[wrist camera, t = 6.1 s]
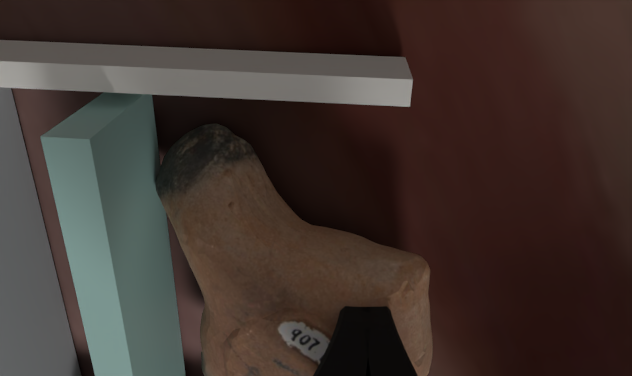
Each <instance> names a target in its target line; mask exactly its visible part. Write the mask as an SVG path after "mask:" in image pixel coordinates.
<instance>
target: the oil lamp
mask: <svg viewBox="0 0 632 376" xmlns="http://www.w3.org/2000/svg"><path fill="white" fill-rule="evenodd" d="M155 185H156V192H157V194H158V196H159V198H160V200H161V202H162V205H163V207H164V209H165V211H166V213H167V215H168V217H169V219H170V221H171V223H172V226H173V228H174V230H175V233H176V235H177V238H178V240H179V243H180V245H181V247H182V250H183V252H184V254H185V256H186V258H187V260H188V262H189V265H190V267H191V269H192V271H193V273H194V276H195V278H196V280H197V282H198V284H199V286H200V289H201V291H202V294H203V297H204V302H205V308H204V311H203V313H202V319H201V326H200V339H201V345H202V352H201V358H202V371H203V374H204V376H313V375H314V373H315V371H316V369H317V368H318V366H319V364H320V362H321V360H322V358H323V355H324V353H325V351H326V349H327V347H328V345H329V342H330V340H331V338H332V335H333V332H334V330H335V327H336V324H337V321H338V317H339V313H340V310H341V309H342V308H344V307H345V306H351V307H383V306H387V307H388V308H389V309H390V310H391V313H392V317H393V320H394V323H395V326H396V328H397V331H398V334H399V336H400V338H401V341H402V343H403V346H404V348H405V350H406V352H407V354H408V357H409V359H410V361H411V363H412V365H413V367H414V369H415V371H416V373H417V375H418V376H427V375H428V373H429V370H430V365H431V361H432V354H433V342H432V331H431V323H430V303H429V297H428V290H429V279H430V268H429V265H428V263H427V262H426V261H425V260H424V259H423V258H422V257H421V256H420V255H418V254H415V253H411V252H406V251H402V250H399V249H396V248H392V247H389V246H384V245H380V244H377V243H375V242H373V241H370V240H368V239H366V238H364V237H362V236H359V235H356V234H353V233H350V232H346V231H341V230H337V229H332V228H328V227H322V226H315V225H311V224H309V223H307V222H305V221H303V220H301V219H300V218H299V217H298V216H297V215H296V214H295V213H294V212H293V211H292V209H291V208H290V207H289V206H288V205H287V204H286V202H285V201H284V200H283V199H282V198H281V196H280V195H279V194H278V193H277V191H276V190H275V188H274V186H273V185H272V183H271V181H270V180H269V178H268V176H267V174H266V172H265V170H264V168H263V166H262V164H261V162H260V160H259V158H258V156H257V154H256V153H255V151H254V149H253V147H252V146H251V144H250V143H247V142H246V141H245V140H244V139H242V138H240V137H238V136H235V135H234V134H233V133H232V132H231V131H230V130H229V129H228V128H227V127H225V126H222V125H219V124H216V123H214V124H207V125H202V126H200V127H198V128H196V129H194V130H192V131H190V132H188V133H186V134H185V135H184V136H183V137H181V138H180V139H179V140H178V141H177V142H176V143H175V144H174V145H172V146H171V147H170V149H169V151H168V152H167V154H166V155H165V156H164V159H163V162H162V165H161V168H160V171H159V173H158V177H157V180H156V184H155Z"/></svg>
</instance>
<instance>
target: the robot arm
mask: <svg viewBox="0 0 632 376" xmlns="http://www.w3.org/2000/svg"><path fill="white" fill-rule="evenodd" d="M313 376H418V375H417V373H416V371H415V369H414V367H413V365H412V363H411V361H410V359H409V357H408V354H407V352H406V350H405V348H404V346H403V343H402V341H401V338H400V336H399V334H398V331H397V328H396V326H395V323H394V320H393V317H392V313H391V310H390V309H389V308H388V307H387V306H383V307H351V306H345V307H344V308H342V309H341V310H340V313H339V317H338V321H337V324H336V327H335V330H334V332H333V335H332V338H331V340H330V342H329V345H328V347H327V349H326V351H325V353H324V355H323V358H322V360H321V362H320V364H319V366H318V368H317V369H316V371H315V373H314V375H313Z"/></svg>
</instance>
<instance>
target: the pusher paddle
mask: <svg viewBox="0 0 632 376" xmlns="http://www.w3.org/2000/svg"><path fill="white" fill-rule="evenodd" d="M41 142H42V146H43V150H44V155H45V159H46V164H47V168H48V172H49V177H50V181H51V185H52V190H53V194H54V199H55V203H56V207H57V212H58V216H59V221H60V225H61V229H62V234H63V238H64V242H65V247H66V251H67V256H68V260H69V264H70V269H71V273H72V277H73V282H74V286H75V291H76V295H77V299H78V304H79V308H80V312H81V317H82V321H83V326H84V330H85V334H86V339H87V343H88V347H89V352H90V356H91V361H92V365H93V369H94V374H95V376H186V375H185V366H184V358H183V349H182V341H181V333H180V324H179V316H178V308H177V299H176V291H175V283H174V274H173V266H172V258H171V249H170V241H169V233H168V224H167V216H166V211H165V209H164V207H163V205H162V202H161V200H160V198H159V196H158V194H157V192H156V185H155V184H156V180H157V177H158V173H159V171H160V168H161V166H160V157H159V149H158V141H157V132H156V124H155V116H154V107H153V99H152V95H151V94H130V93H109V92H104V93H102V94H101V95H99V96H98V97H97V98H95V99H94V100H92V101H91V102H89V103H88V104H87V105H85V106H84V107H82V108H81V109H79V110H78V111H76V112H75V113H74V114H72V115H71V116H69V117H68V118H66V119H65V120H64V121H62V122H61V123H59V124H58V125H56V126H55V127H53V128H52V129H51V130H49V131H48V132H46V133H45V134H43V135H42V136H41Z"/></svg>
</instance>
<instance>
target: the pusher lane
mask: <svg viewBox="0 0 632 376" xmlns="http://www.w3.org/2000/svg"><path fill="white" fill-rule="evenodd" d="M412 83H413V78H412V75H411V72H410V69H409V66H408V63H407V61H406V58H405V57H389V56H365V55H342V54H319V53H295V52H272V51H249V50H225V49H202V48H179V47H155V46H132V45H109V44H85V43H62V42H39V41H15V40H0V376H81V372H80V368H79V364H78V360H77V356H76V352H75V348H74V344H73V339H72V335H71V331H70V327H69V323H68V319H67V315H66V311H65V307H64V303H63V299H62V295H61V290H60V286H59V282H58V278H57V274H56V270H55V266H54V262H53V258H52V254H51V250H50V245H49V241H48V237H47V233H46V229H45V225H44V221H43V217H42V213H41V209H40V205H39V201H38V196H37V192H36V188H35V184H34V180H33V176H32V172H31V168H30V164H29V160H28V156H27V151H26V147H25V143H24V139H23V135H22V131H21V127H20V123H19V119H18V115H17V111H16V106H15V102H14V98H13V94H12V90H11V88H25V89H46V90H67V91H88V92H109V93H130V94H151V95H172V96H193V97H214V98H235V99H256V100H277V101H298V102H319V103H340V104H361V105H382V106H404V107H410V101H411V92H412Z"/></svg>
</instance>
